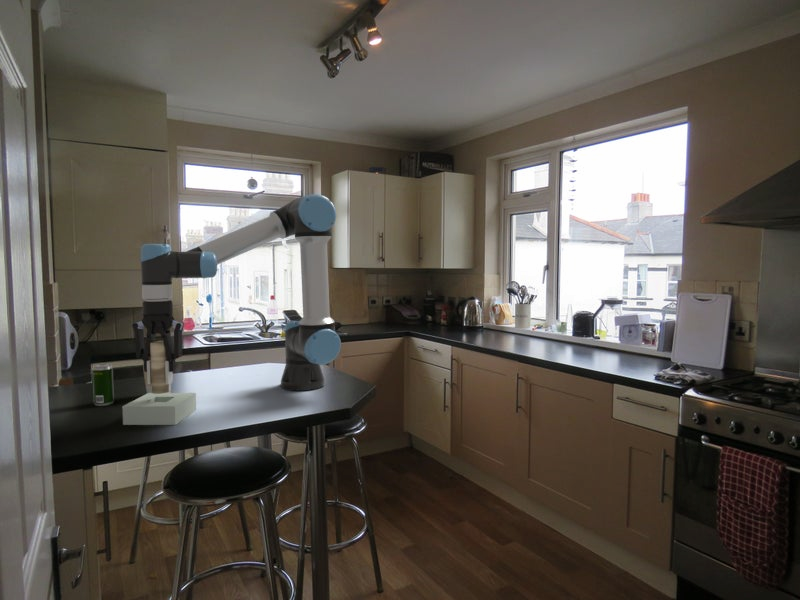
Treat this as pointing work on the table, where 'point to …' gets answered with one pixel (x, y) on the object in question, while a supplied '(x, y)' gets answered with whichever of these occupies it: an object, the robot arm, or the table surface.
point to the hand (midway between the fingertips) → (160, 383)
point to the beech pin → (158, 367)
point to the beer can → (103, 384)
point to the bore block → (159, 409)
